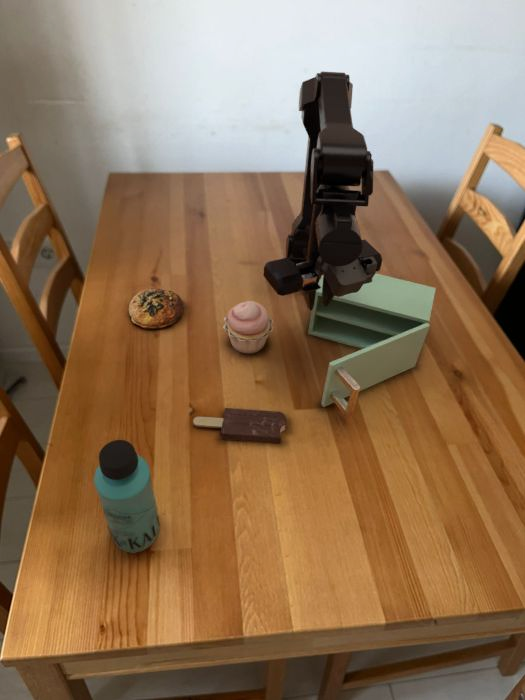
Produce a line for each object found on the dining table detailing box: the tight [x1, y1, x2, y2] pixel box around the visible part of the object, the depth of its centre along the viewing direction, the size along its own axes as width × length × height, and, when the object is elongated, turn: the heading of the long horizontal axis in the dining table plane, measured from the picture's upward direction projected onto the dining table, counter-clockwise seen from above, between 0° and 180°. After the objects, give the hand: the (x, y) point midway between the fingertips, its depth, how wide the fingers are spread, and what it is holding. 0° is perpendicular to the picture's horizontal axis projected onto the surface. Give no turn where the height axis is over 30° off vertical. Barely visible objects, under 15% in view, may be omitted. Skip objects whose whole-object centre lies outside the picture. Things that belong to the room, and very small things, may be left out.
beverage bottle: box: [93, 439, 161, 553], centre depth 62 cm, size 6×7×20 cm
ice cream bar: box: [192, 407, 287, 444], centre depth 83 cm, size 5×2×15 cm
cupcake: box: [222, 300, 275, 355], centre depth 94 cm, size 9×9×10 cm
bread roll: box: [128, 287, 185, 330], centre depth 101 cm, size 11×11×5 cm
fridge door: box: [320, 323, 431, 419], centre depth 86 cm, size 6×21×10 cm, turn 120°
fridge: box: [307, 272, 437, 350], centre depth 97 cm, size 10×21×11 cm, turn 70°
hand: (317, 307), depth 87 cm, fingers open, 3 cm apart
